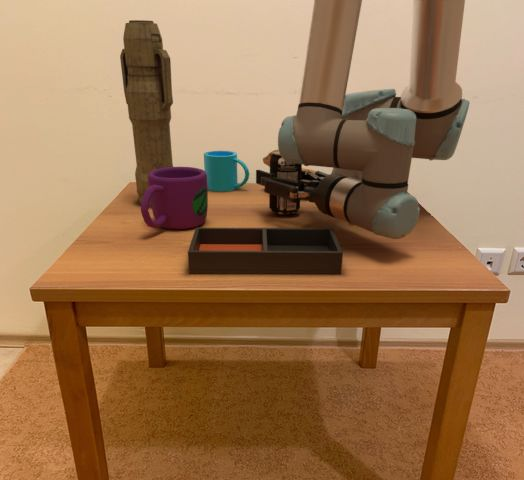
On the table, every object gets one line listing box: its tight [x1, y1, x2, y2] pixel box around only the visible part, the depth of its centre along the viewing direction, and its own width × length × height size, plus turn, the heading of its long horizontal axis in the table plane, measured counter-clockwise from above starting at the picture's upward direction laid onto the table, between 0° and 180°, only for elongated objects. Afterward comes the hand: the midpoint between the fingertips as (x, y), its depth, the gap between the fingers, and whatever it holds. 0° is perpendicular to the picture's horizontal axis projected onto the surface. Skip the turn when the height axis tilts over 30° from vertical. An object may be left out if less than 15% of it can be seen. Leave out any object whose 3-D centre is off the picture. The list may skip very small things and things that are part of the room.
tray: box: [187, 226, 344, 275], centre depth 85 cm, size 12×24×4 cm, turn 91°
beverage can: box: [268, 149, 303, 215], centre depth 107 cm, size 7×7×12 cm
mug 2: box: [203, 150, 250, 192], centre depth 127 cm, size 12×8×8 cm
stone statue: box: [119, 19, 174, 208], centre depth 108 cm, size 9×12×35 cm
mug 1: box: [140, 166, 209, 230], centre depth 99 cm, size 17×11×10 cm, turn 154°
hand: (271, 174), depth 110 cm, fingers closed on beverage can, 7 cm apart
